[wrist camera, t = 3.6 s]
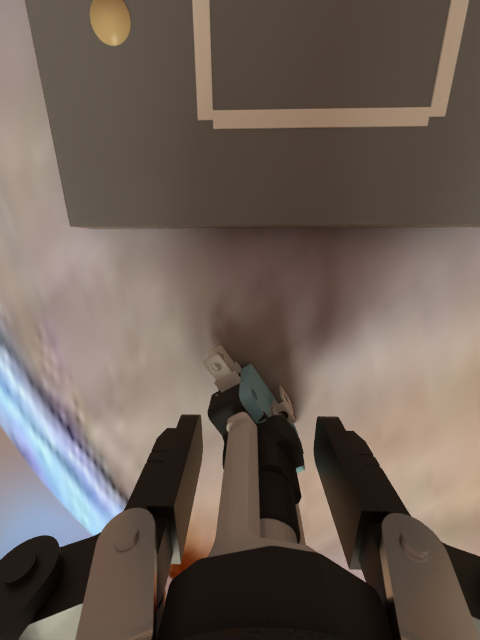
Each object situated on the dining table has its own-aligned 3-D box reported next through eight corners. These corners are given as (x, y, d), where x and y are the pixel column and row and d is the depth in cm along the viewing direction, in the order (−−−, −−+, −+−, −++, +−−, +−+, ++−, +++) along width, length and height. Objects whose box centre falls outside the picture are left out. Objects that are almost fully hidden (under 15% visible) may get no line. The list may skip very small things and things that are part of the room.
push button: (173, 368, 12) (-110, 824, 3) (264, 315, 11) (343, 758, 2) (243, 457, 14) (226, 945, 4) (329, 418, 13) (568, 955, 3)
